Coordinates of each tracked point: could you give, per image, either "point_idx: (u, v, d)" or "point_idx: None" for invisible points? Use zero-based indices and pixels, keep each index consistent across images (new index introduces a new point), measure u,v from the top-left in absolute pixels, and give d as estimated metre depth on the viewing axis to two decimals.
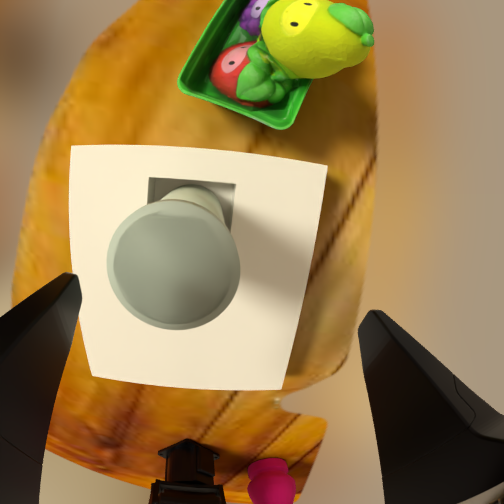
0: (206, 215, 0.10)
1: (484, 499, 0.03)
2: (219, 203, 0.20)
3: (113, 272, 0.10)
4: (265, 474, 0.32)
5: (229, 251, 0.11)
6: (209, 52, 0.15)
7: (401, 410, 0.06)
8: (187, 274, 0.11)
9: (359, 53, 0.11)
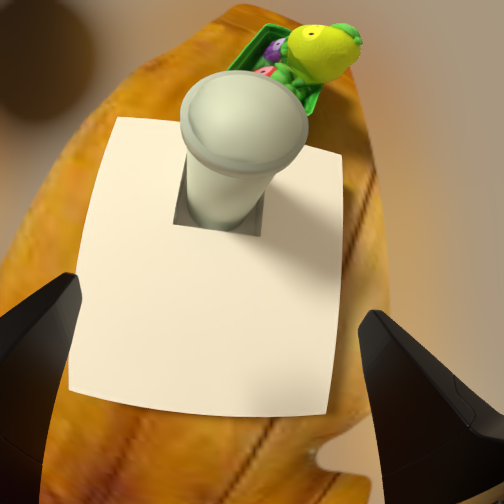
0: (277, 83, 0.11)
1: (484, 499, 0.03)
2: None
3: (187, 108, 0.10)
4: None
5: (297, 107, 0.11)
6: None
7: (401, 410, 0.06)
8: (262, 117, 0.11)
9: (354, 49, 0.16)
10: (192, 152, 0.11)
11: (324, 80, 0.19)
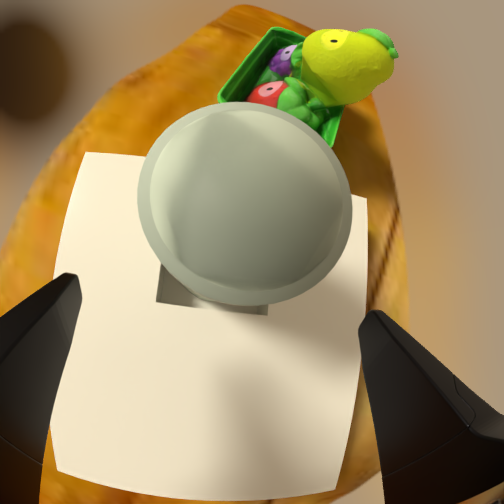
0: (302, 124, 0.07)
1: (484, 499, 0.03)
2: None
3: (149, 183, 0.06)
4: None
5: (335, 170, 0.07)
6: (242, 87, 0.18)
7: (401, 410, 0.06)
8: (278, 195, 0.07)
9: (389, 64, 0.12)
10: (162, 263, 0.06)
11: (348, 102, 0.15)
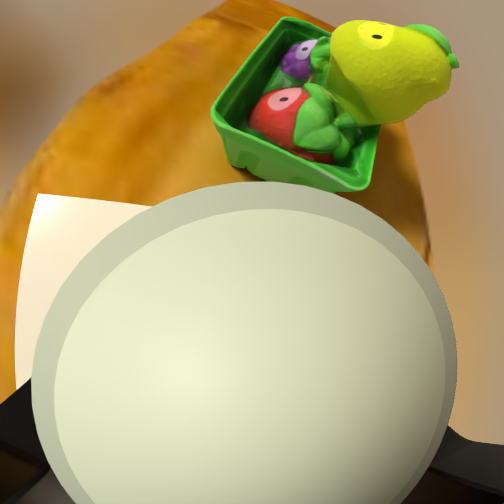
0: (396, 239, 0.03)
1: None
2: None
3: (56, 430, 0.02)
4: None
5: (443, 344, 0.03)
6: (246, 95, 0.13)
7: None
8: (339, 438, 0.03)
9: (448, 76, 0.08)
10: None
11: (389, 121, 0.11)
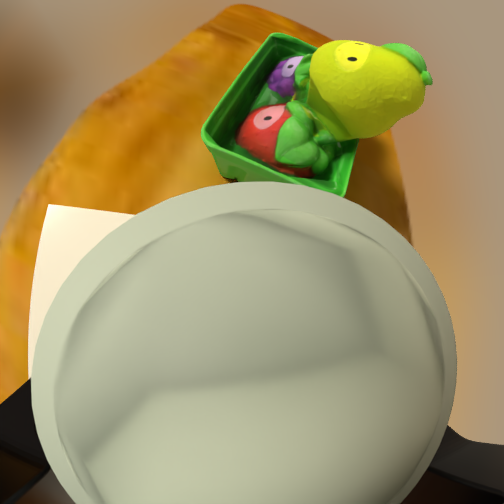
0: (396, 239, 0.03)
1: None
2: None
3: (56, 429, 0.02)
4: None
5: (443, 344, 0.03)
6: (234, 112, 0.15)
7: None
8: (339, 438, 0.03)
9: (421, 93, 0.09)
10: None
11: (365, 136, 0.13)
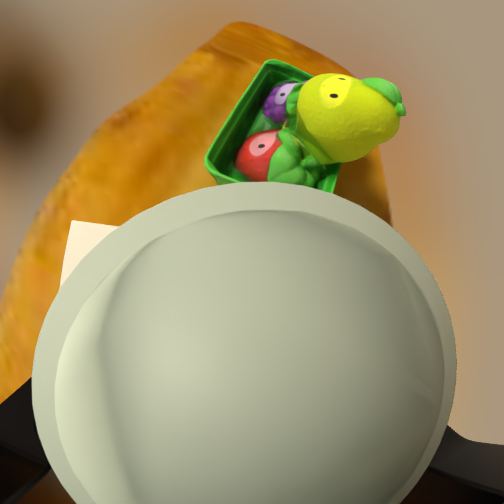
0: (395, 239, 0.03)
1: None
2: None
3: (56, 429, 0.02)
4: None
5: (443, 344, 0.03)
6: (233, 138, 0.18)
7: None
8: (339, 438, 0.03)
9: (394, 124, 0.12)
10: None
11: (346, 161, 0.15)
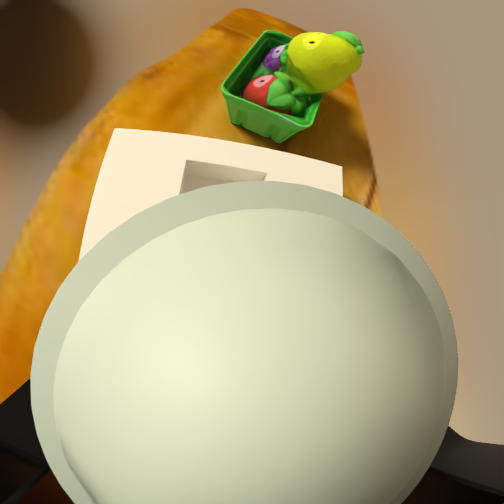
0: (397, 239, 0.03)
1: None
2: None
3: (55, 430, 0.02)
4: None
5: (444, 344, 0.03)
6: (240, 80, 0.21)
7: None
8: (340, 439, 0.03)
9: (356, 59, 0.16)
10: None
11: (325, 90, 0.19)
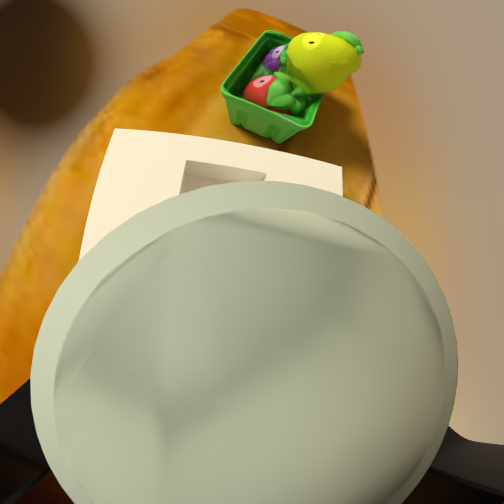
0: (397, 239, 0.03)
1: None
2: None
3: (55, 430, 0.02)
4: None
5: (444, 344, 0.03)
6: (240, 80, 0.21)
7: None
8: (340, 439, 0.03)
9: (355, 59, 0.16)
10: None
11: (324, 90, 0.19)
